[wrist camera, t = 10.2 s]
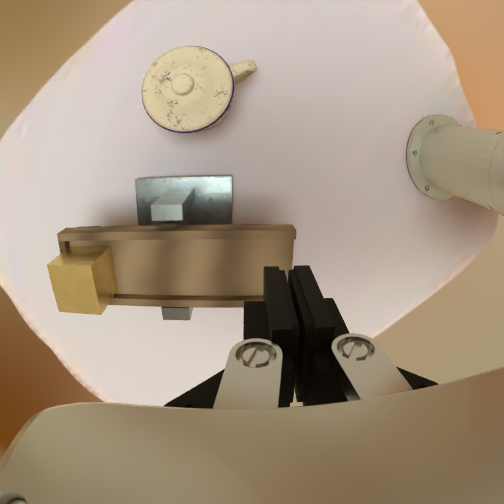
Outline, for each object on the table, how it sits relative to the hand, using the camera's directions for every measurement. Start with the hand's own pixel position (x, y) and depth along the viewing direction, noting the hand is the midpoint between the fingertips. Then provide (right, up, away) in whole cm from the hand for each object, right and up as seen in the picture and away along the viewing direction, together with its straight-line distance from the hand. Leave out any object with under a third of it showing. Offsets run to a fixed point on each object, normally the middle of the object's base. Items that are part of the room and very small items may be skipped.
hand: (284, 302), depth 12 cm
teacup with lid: (-7, +21, +23) cm, 32 cm away
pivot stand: (-10, +4, +29) cm, 31 cm away
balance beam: (-9, +1, +22) cm, 24 cm away
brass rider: (-18, 0, +19) cm, 26 cm away
